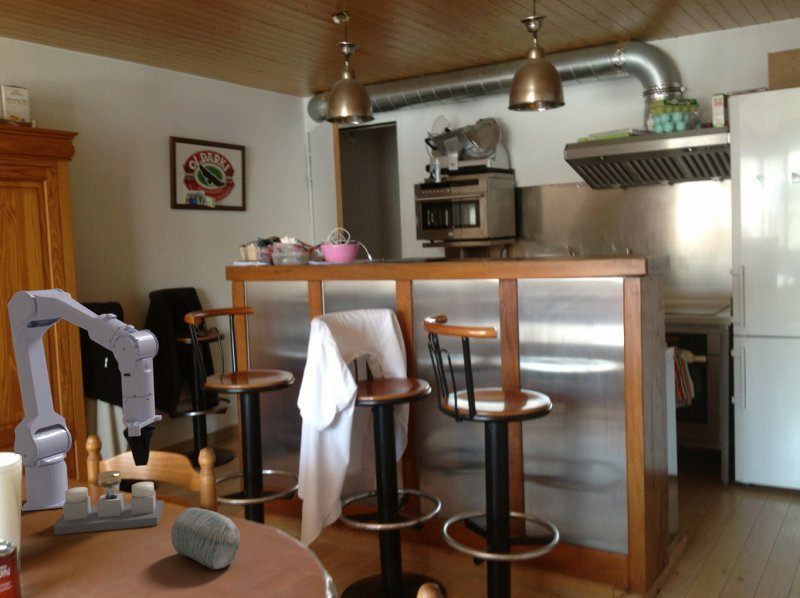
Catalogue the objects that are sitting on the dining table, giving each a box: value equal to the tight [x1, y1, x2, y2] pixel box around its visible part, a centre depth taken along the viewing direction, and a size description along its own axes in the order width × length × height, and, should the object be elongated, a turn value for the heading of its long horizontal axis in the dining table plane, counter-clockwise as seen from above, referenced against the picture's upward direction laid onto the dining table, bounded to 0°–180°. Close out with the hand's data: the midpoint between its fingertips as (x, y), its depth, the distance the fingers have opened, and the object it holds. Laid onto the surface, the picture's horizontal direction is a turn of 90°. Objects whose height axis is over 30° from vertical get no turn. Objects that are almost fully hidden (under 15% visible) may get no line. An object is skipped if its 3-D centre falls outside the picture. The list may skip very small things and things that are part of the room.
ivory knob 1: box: [65, 486, 89, 503], centre depth 143 cm, size 4×4×5 cm
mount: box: [53, 490, 164, 536], centre depth 144 cm, size 10×18×4 cm, turn 101°
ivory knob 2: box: [131, 481, 155, 497], centre depth 145 cm, size 4×4×5 cm
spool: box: [170, 507, 241, 571], centre depth 124 cm, size 14×10×10 cm
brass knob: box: [97, 470, 122, 500], centre depth 144 cm, size 4×4×5 cm
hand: (141, 464), depth 145 cm, fingers closed
